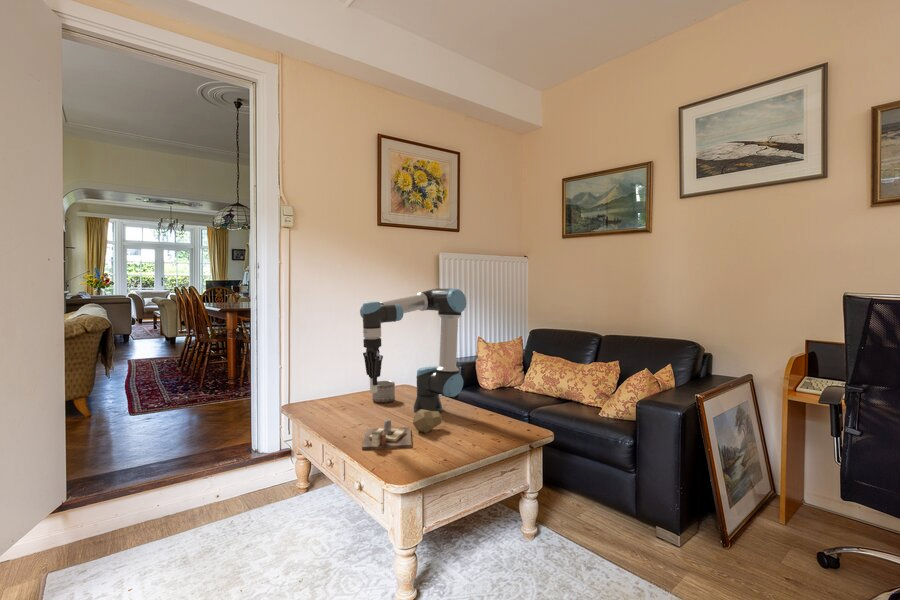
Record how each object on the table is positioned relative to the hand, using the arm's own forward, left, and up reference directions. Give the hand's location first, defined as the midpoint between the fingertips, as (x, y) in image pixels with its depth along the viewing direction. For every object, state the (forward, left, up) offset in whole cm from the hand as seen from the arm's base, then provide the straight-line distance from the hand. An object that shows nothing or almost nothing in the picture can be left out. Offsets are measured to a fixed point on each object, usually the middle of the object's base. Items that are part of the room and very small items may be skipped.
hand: (373, 392), depth 188 cm
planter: (-2, -62, -21) cm, 65 cm away
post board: (-6, 0, -21) cm, 21 cm away
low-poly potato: (-24, -9, -21) cm, 33 cm away
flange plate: (-4, +3, -19) cm, 20 cm away
